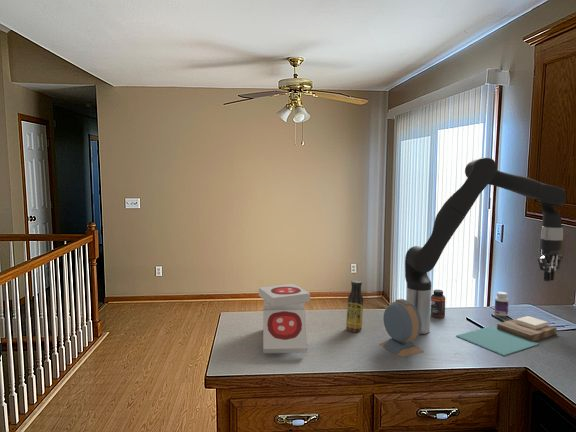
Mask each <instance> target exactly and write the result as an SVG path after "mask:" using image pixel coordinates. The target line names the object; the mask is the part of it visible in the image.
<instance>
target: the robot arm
mask: <svg viewBox="0 0 576 432" xmlns="http://www.w3.org/2000/svg"><path fill="white" fill-rule="evenodd" d="M464 174H465V176H466V177H467V178H466V180H465V181H464V183H463V184H462V185H461V186H460V187H459V188H458V189H457V190H456V191H455V192H454V193H453V194H451V196H450V197H448V198H447V200H446V201H445V202H444V203H443V205H442V206H441V208H440V210H438V212H437V214H436V216H435V218H434V224H433V227H432V232H431V235H430V236H429V238H428V239H427V241H425V244H424V245H423V246H417V245H414V246H411V247H410V248H408V250H407V252H406V253H405V258H404V276H405V277H404V278H405V282H406V299H405V300H406V301H408V302H409V303H410V304H412V305H413V306H414V307H415V308H416V309H417V310H418V312H419V314H420V317H421V322H422V326H421V331H420V333H419V335H424V334H428V333H430V329H431V328H430V327H431V296H432V282H431V279H430V277H429V276H428V273H429V272H431V271H432V270H433V269H434V267H435V266H436V265H437V263H438V261H439V259H440V257H441V255H442V253H443V251H444V250H445V248H446V247H447V244H448V243H449V241H450V240H451V239H452V237H453V236H454V234H455V232H456V231H457V229H458V228H459V226H460V225H461V224H462V223H463V221H464V219H465V218H466V216H467V215H468V213H469V212H470V210H471V209H472V207H473V205H474V203H475V202H476V201H477V199H478V197H479V196H480V195H481V193H482V192H483V191H484V189H486V187H487V186H488V185H490V186H493V187H494V186H495V187H498V188H500V189H504V190H507V191H510V192H513V193H515V194H518V195H520V196H521V195H522V196H524V197H526V198H529V199H532V200H539V202H540V208H541V213H542V222H541V223H542V225H541V231H540V245H539V248H540V249H541V250H542V251H543V252H542V255H541V257H538V258H537V261H538V264H539V265H538V266H539V268H540V271H543V280H544V281H545V282H550V281H555V272H556V271H557V270H559V268H560V266H561V264H562V260H563V258H564V257H563V255H562V254H560V253H559V252H561V251H562V250H563V242H564V226H563V225H564V224H563V225H561V224H562V223H561V216H560V213H558V212H556V211H555V210H554V208H553V206H558V207H562V206H564V205H563V204H564V202H565V199H566V195H565V191H566V190H565V189H564V188H561V187H559V186H554V185H551V184H547V183H543V182H540V181H539V180H535V179H532V178H530V177H527V176H523V175H518V174H513V173H508V172H504V171H501V170H498V166H497V163H496V161H495V160H494V159H493V158H491V157H480V158H476V159H473V160H471V161H470V162H468V163H467V164H466V166H465V169H464ZM564 190H565V191H564Z"/></svg>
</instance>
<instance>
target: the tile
mask: <svg viewBox="0 0 576 432" xmlns="http://www.w3.org/2000/svg"><path fill="white" fill-rule="evenodd" d="M521 317H522V318H521ZM521 317H517V318H518V319H517V318H515V319H516V322H515V323H517V324H520V325H523V326H526V327H529V328H532V329H538V328H542V327H545V326H547V325H548V323H549V322H548V321H546V320H542V319H539V318H536V317H533V316H529V315H526V316H521Z"/></svg>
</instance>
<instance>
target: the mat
mask: <svg viewBox="0 0 576 432" xmlns="http://www.w3.org/2000/svg"><path fill="white" fill-rule="evenodd" d="M455 337H457V338H459V339H462V340H464V341H466V342H469V343H471V344H474V345H475V346H478V347H480V348H484V349H486V350H488V351H490V352H493V353H495V354H498V355H500V356H503V357H506V356H509V355H511V354H512V355H513V354H515V353H518V352H520V351H524V350H527V349H531V348H534V347H536V346H539V345H540V344H539V343H538V342H536V341H530V340H527V339H524V338H522V337H519V336H516V335H513V334H510V333H508V332H505V331H502V330H499V329H497V327H493V326H490V325H489V326H487V327H482V328H480V329H475V330H471V331H468V332H465V333H464V332H463V333H460V334H456V336H455Z"/></svg>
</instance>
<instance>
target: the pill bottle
mask: <svg viewBox="0 0 576 432" xmlns="http://www.w3.org/2000/svg"><path fill="white" fill-rule="evenodd" d="M496 293H497V294H496V297H494V307H493V308H494V311H493V313H494V315H496V316H498V317H507V316H509V303H510V301H509V298H508V293H507V292H505V291H497V292H496Z"/></svg>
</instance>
